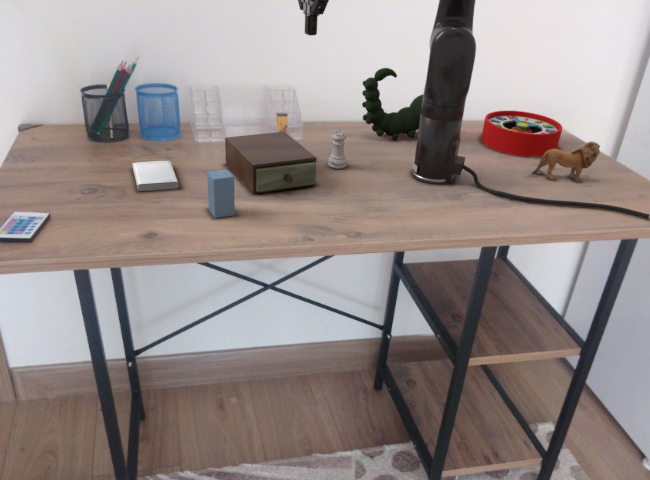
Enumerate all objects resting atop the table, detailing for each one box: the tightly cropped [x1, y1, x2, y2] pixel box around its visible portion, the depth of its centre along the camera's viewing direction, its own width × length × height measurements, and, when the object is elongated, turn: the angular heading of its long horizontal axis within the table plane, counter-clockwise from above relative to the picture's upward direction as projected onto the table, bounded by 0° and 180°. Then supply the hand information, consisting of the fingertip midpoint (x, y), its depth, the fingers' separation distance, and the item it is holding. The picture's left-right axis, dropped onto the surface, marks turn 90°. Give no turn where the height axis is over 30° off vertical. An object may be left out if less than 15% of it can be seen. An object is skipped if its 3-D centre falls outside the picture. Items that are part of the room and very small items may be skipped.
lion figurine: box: [531, 140, 601, 183], centre depth 151 cm, size 15×5×9 cm, turn 93°
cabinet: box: [224, 131, 317, 195], centre depth 142 cm, size 17×14×6 cm
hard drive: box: [132, 160, 179, 192], centre depth 138 cm, size 2×8×12 cm
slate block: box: [206, 168, 236, 219], centre depth 124 cm, size 4×4×8 cm
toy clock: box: [480, 110, 563, 158], centre depth 171 cm, size 20×6×20 cm
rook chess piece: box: [327, 130, 347, 170], centre depth 149 cm, size 4×4×8 cm
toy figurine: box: [361, 67, 423, 141], centre depth 167 cm, size 9×19×25 cm
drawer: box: [256, 161, 317, 192], centre depth 141 cm, size 18×13×5 cm
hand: (310, 34), depth 137 cm, fingers closed
